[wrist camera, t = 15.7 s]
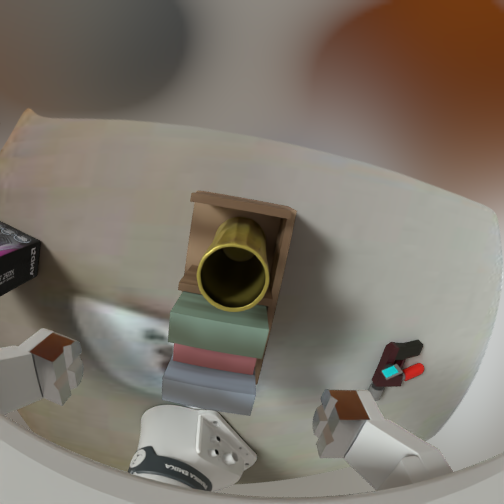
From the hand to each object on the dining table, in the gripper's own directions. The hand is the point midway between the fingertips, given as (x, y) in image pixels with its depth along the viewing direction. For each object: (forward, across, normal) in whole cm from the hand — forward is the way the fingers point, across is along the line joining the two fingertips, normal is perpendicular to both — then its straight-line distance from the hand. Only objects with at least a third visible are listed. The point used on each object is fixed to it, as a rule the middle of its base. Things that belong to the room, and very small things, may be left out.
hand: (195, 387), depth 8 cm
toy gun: (+30, +29, -17) cm, 45 cm away
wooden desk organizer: (+29, 0, -6) cm, 30 cm away
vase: (+27, 0, 0) cm, 27 cm away
